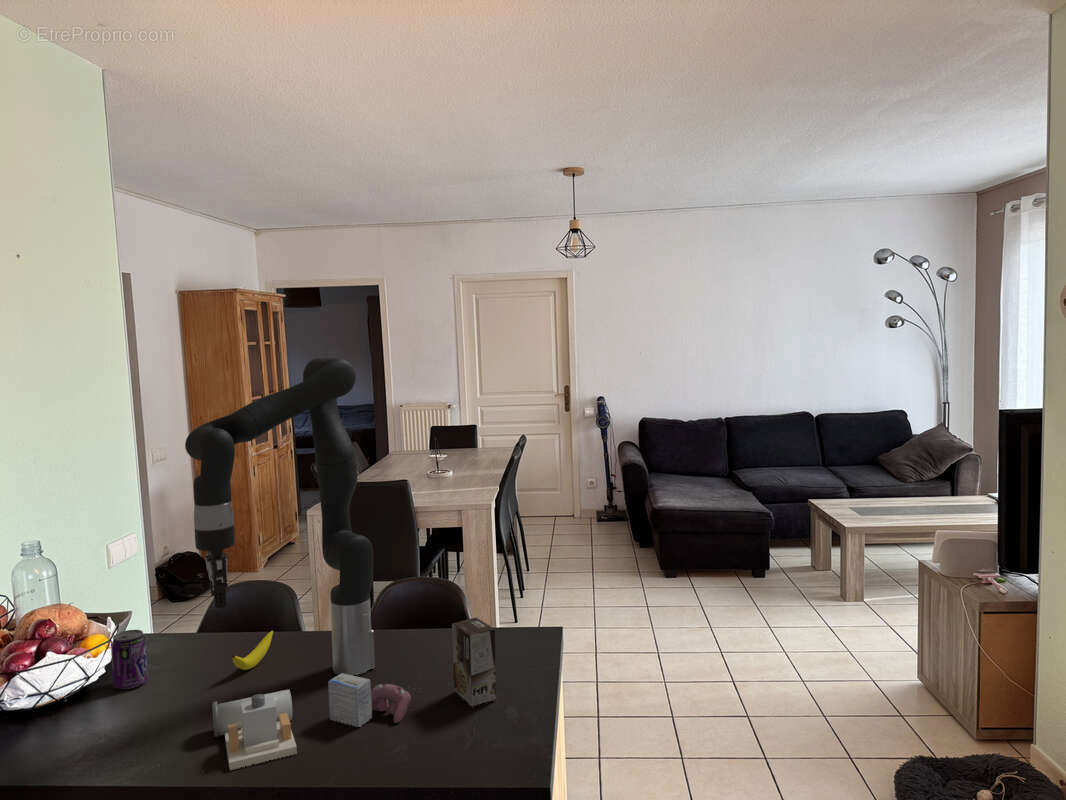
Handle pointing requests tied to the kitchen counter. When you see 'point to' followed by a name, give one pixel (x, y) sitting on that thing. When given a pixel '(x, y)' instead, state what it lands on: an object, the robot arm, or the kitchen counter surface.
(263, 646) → the banana
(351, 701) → the medicine box
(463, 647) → the coffee box
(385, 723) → the kitchen counter surface
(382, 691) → the video game controller
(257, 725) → the grey box with knob
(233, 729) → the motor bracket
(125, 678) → the beverage can
